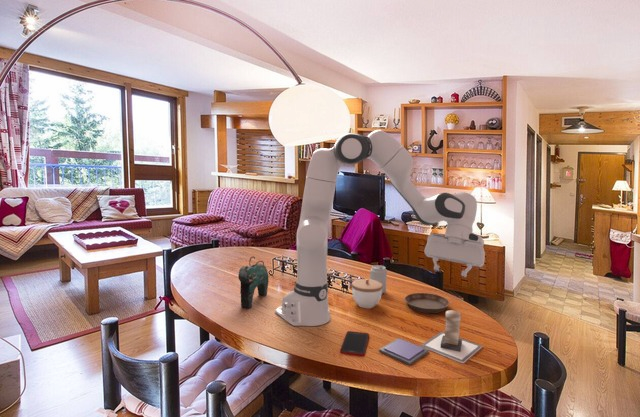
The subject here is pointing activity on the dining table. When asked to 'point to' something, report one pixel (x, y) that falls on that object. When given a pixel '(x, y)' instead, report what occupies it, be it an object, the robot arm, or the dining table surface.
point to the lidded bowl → (366, 292)
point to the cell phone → (355, 343)
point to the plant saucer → (426, 302)
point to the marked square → (462, 356)
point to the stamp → (452, 331)
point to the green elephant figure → (252, 282)
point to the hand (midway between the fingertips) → (449, 273)
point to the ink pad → (404, 351)
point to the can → (379, 275)
